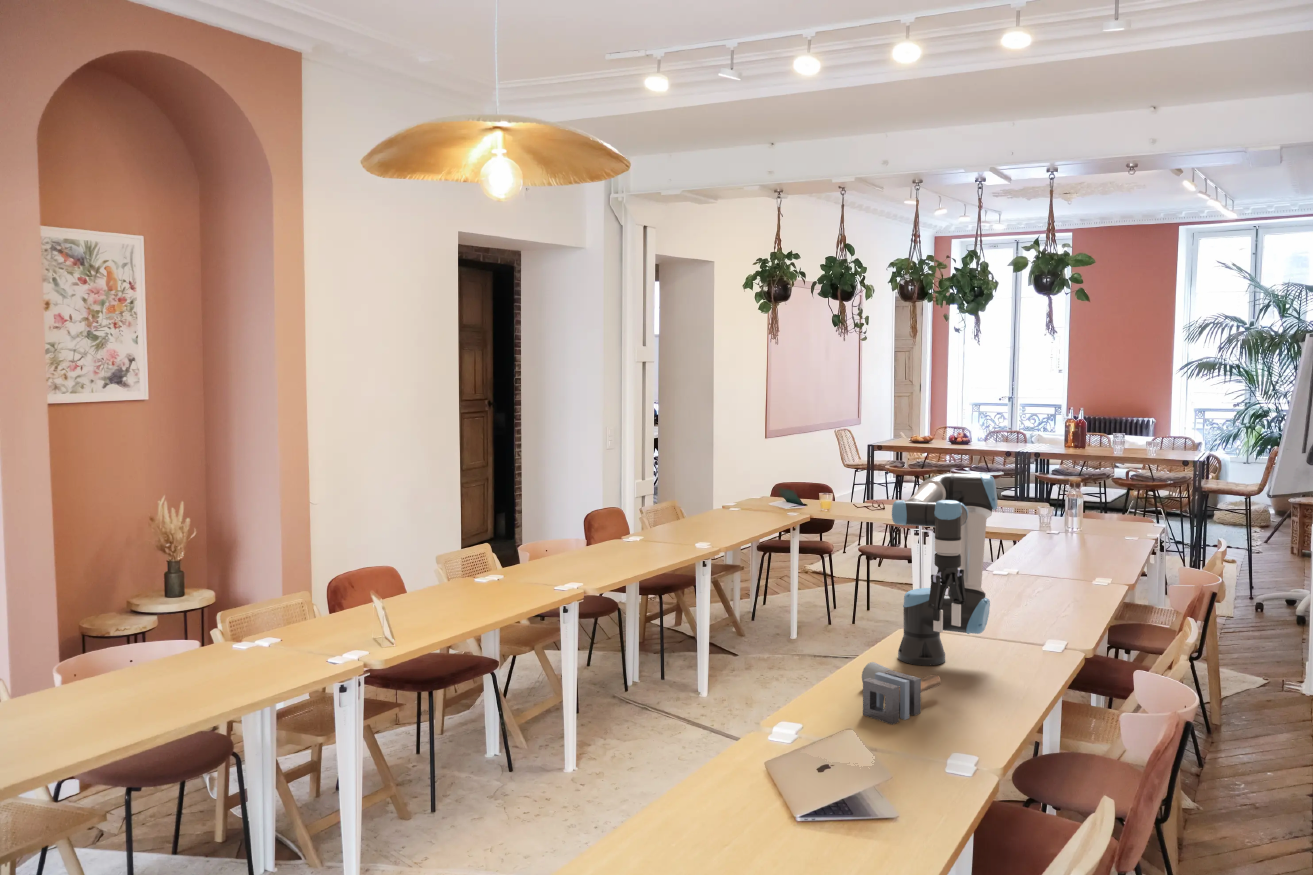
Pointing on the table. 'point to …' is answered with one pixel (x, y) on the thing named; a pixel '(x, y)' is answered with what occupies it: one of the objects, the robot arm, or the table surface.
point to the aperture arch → (903, 693)
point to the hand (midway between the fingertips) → (947, 628)
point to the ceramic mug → (873, 670)
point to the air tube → (928, 683)
